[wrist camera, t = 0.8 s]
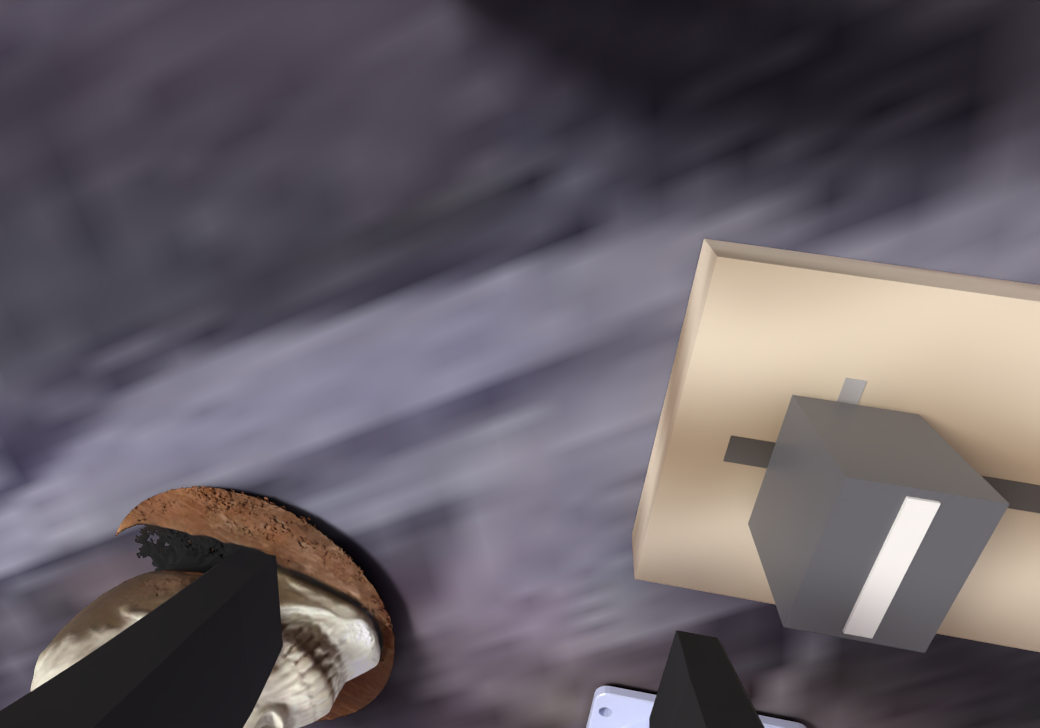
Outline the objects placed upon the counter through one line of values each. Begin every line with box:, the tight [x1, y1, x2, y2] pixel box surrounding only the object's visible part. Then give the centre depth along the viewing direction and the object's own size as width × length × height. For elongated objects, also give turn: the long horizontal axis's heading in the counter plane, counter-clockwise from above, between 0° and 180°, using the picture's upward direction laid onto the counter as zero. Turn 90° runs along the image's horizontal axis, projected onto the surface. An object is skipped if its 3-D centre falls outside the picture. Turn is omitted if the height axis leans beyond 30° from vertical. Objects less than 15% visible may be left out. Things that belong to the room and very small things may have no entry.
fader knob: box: [748, 395, 1009, 653], centre depth 14 cm, size 4×3×4 cm
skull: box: [31, 486, 395, 728], centre depth 22 cm, size 12×10×10 cm
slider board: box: [632, 239, 1040, 652], centre depth 16 cm, size 10×20×2 cm, turn 84°
